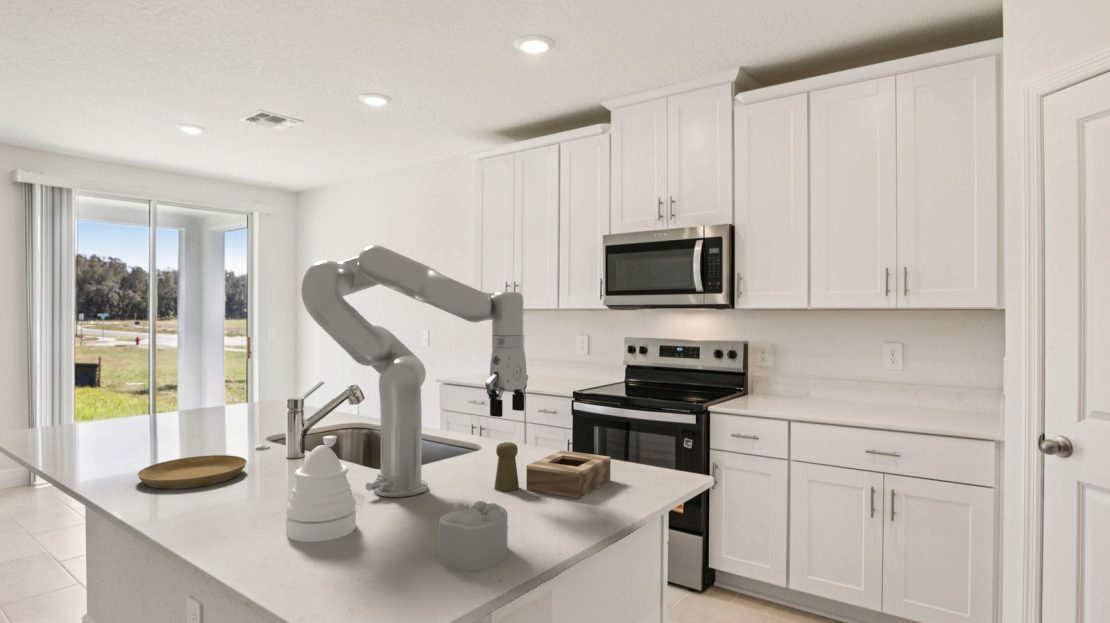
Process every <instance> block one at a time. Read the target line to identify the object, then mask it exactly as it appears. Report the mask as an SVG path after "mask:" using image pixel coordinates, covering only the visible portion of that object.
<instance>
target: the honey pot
mask: <svg viewBox="0 0 1110 623" xmlns="http://www.w3.org/2000/svg"><path fill="white" fill-rule="evenodd" d="M337 438H338V436H336V435H325V436H323V437H322V440H323V445H322V444H321V445H318V446H316V447H314V448H313V449H312V450H311V451H310V452H309V454H308V455H307V457H306V458H305V460H304V462H303V464H302V467H300V468H297V469H296V470H295V471H294V477H295V478H296V481H295V484H294V486H293V487H292V489H291V492H292V493H291V494H290V496H289V497H290V498H289V502H288V503H287V505H286V509H285V511H286V514H285V516H286V519H285V522H286V524H285V525H286V526H285V527H286V528H285V529H286V530H285V535H286V537H287V538H288V539H289V540H292V541H296V542H301V543H314V542H315V543H316V542H318V543H319V542H326V541H332V540H336V539H339V538H343V537H345V536H347V535H349V534H351V533H352V532H355V529H356V525H357V522H356V521H357V520H356V519H357V518H356V517H357V516H356V512H357V511H356V497H355V496H354V495H353V491H352V489H351V482H349V481H348V478H347V476H346V474H347V473H348V472H349V467H348V466H347V465H345V464H342V463H341V462H340V460H339V457H338V456H337V454H336V453H335V452H334V451H333V450H332V448H331V447H333V446H334V445H335V444H336V442H337Z"/></svg>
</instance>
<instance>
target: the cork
mask: <svg viewBox="0 0 1110 623" xmlns="http://www.w3.org/2000/svg"><path fill="white" fill-rule="evenodd" d="M518 450H519V449H518V445H517V444H516V443H514V442H508V441H507V442H500V443H498V444H497V446H496V448H495V452H496V456H497V457H498V459H497V466H496V467H497V468H496V475H495V481H494V490H495V491H497V492H502V493H509V492H511V493H512V492H515V491H518V490H519V489H520V484H519V475H518V468H517V461H516V460H517V459H516V456H517V454H518Z"/></svg>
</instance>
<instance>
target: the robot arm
mask: <svg viewBox="0 0 1110 623" xmlns="http://www.w3.org/2000/svg"><path fill="white" fill-rule="evenodd" d="M303 276H304V277H303V280H302V282H301V298H302V302H303V305H304V307H305V309H306V311H307V312H308V314H309V315H310V317H311V318H312V320H313V321H314V322H315V323H316V324H317V325H318V326H319V327H320V328H321V329H322V330H324V331H325V333H327V335H328V336H329V337H330V338H332V339H333V341H335V343H336V344H338V345H339V346H340V347H341V348H342V349H343V350H344V351H345V352H346V353H347V354H348V355H349V356H350V357H351V358H352V359H353V360H354V361H355V362H356V363H357V364H359V365H361V366H365V367H369V366H370V367H372V368H373V369H374V370H375V371H376V372H377V373H378V374H379V378H378V391H379V394H378V395H379V404H380V408H379V409H380V473H378V474H377V478H376V479H375V480H371V481H368V482H367V483H366V484H365V489H366V491H368V492H371V491H373V492H374V493H375V495H378V496H382V497H386V498H388V497H389V498H403V497H412V496H416V495H421V494H422V493H424V492H426V491H428V488H429V484H428V482H427V481H426V480H424V479H422V443H423V442H422V428H423V426H422V425H423V424H422V386H423V384H424V382H425V380H426V374H427V373H426V367H425V365H424V363H423V362H422V360H421V359H420V358H419V357H417V356H416V354H414V353H413V352H412V351H411V350H410V349H409V348H408V347H407V346H406V345H405V344H404V343H403V342H402V341H401V340H399V339H398V338H397V336H395V335H394V333H392V332H391V331H390V330H388V329H387V328H385V327H383V326H380V325H373V324H372V323H370V322H369V320H367V319H366V318H365V316H363V315H362V314H360V312H359V311H358V310H357V309H356V308H355V307H354V306H353V305H351V304H350V303H349V302H348V301H347V300H345V298H344V297H345V296H349V295H353V294H354V293H358V292H361V291H363V290H367V289H369V288H372V287H376V286H378V285H381V286H383V287H386V288H389V289H391V290H394V291H396V292H397V293H399V294H402V295H404V296H406V297H409V298H411V299H413V300H415V301H418V302H420V303H424V304H428V305H430V306H433V307H435V308H437V309H439V310H441V311H444V312H446V313H449V314H451V315H453V316H456V317H458V318H460V319H463V320H465V321H467V322H469V323H480V322H485V321H492V323H491V329H492V330H491V331H492V332H491V336H492V337H491V338H492V339H491V346H492V347H491V349H492V350H491V357H490V366H489V378H488V379H487V380H486V381H485V382H484V385H485V388H486V394H487V395H488V399H489V416H490V417H496V418H501V417H503V415H504V414H503V412H504V411H503V407H504V406H503V405H504V404H503V402H504V401H503V399H502V396H503V394H504V392H511V391H512V392H513V393H512V396H511V397H512V400H511V401H512V402H511V403H512V406H511V408H512V411H518V412H519V411H520V412H523V411H525V395H526V389H527V386H528V384H527V383H528V379H529V376H528V374H527V360H526V358H527V357H526V352H525V348H524V296H523V295H522V294H523V293H521V292H517V291H498V292H495V293H494V292H484V291H481V290H479V289H476V288H474V287H472V286H469V285H467V284H465V283H462V282H460V281H458V280H455V279H453V278H450V277H448V276H446V275H445V274H443V273H441V272H439V271H437V270H436V269H435V268H433V267H430V266H428V265H426V264H423V263H422V262H419V261H417V260H415V259H412V258H411V257H407V256H405V255H403V254H400V253H398V252H396V251H394V250H392V249H390V248H386V247H385V246H381V245H377V244H374V245H369V246H367V247H365V248H363V249H362V250H361V251H360V253H359V255H358V256H354V257H352V258H349V259H346V260H343V261H339V262H337V261H333V260H320V261H317V262H315V263H313V264H311V265H310V267H309V268H308V269H307V270H306V272H305V274H304V275H303Z"/></svg>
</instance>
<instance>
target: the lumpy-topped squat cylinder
mask: <svg viewBox="0 0 1110 623" xmlns="http://www.w3.org/2000/svg"><path fill="white" fill-rule="evenodd" d="M507 555H508V512H507V510H506V509H505V507H503V506H501V505H499V504H497V503H495V502H494V503H493V502H492V503H490V502H489V503H487V502H486V501H483V500H479V501H476V502H475V503H473V504H472V505H468V504H467V505H465V504H463V503H456V504H455V505H453V507H452V508H451V510H450V512H449V513H446V514H445V515H443V516H441V517H440V518H439V519H438V563H439V564H440V565H441V566H444V567H452V568H456V569H460V570H463V571H466V572H479V571H484V570H487V569H489V568H491V567H493V566H495V565H497V564H499V563H500V562H501V561H502V560H504V559H505V558H507Z"/></svg>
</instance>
